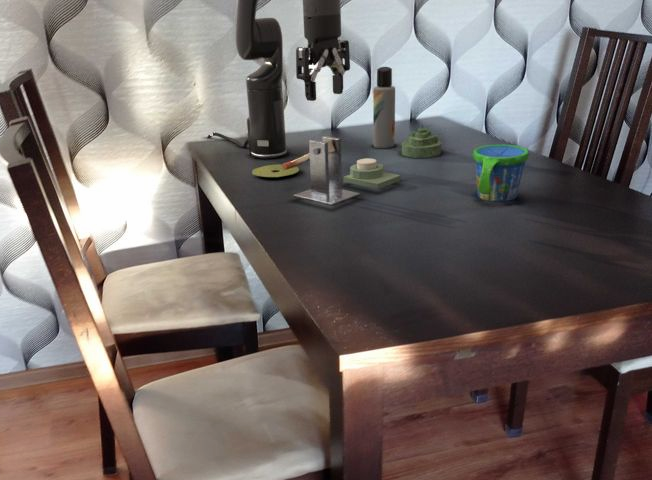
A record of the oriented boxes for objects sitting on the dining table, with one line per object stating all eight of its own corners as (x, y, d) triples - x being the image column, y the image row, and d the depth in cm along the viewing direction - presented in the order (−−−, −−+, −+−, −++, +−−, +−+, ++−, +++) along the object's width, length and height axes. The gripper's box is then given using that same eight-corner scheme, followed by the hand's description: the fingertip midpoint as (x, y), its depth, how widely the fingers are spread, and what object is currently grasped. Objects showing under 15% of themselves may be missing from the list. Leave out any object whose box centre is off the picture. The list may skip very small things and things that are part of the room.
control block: (343, 186, 159) (342, 168, 157) (365, 178, 164) (365, 160, 162) (378, 193, 152) (378, 175, 150) (400, 184, 157) (400, 167, 155)
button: (352, 169, 157) (352, 161, 156) (365, 165, 160) (365, 157, 159) (368, 172, 154) (368, 164, 154) (380, 167, 157) (380, 160, 156)
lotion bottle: (394, 143, 192) (395, 65, 182) (394, 148, 187) (395, 68, 177) (373, 143, 193) (373, 66, 183) (373, 148, 188) (373, 69, 178)
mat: (244, 177, 169) (243, 169, 168) (285, 169, 174) (284, 161, 173) (265, 187, 161) (265, 179, 160) (308, 178, 165) (307, 170, 164)
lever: (284, 173, 152) (280, 162, 152) (300, 167, 155) (296, 157, 155) (323, 154, 142) (319, 143, 142) (339, 149, 145) (335, 138, 145)
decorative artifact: (426, 146, 187) (394, 152, 184) (427, 119, 184) (394, 124, 180) (448, 154, 179) (415, 160, 175) (450, 125, 175) (416, 131, 172)
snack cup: (502, 215, 136) (507, 162, 131) (454, 206, 142) (457, 155, 137) (537, 194, 146) (543, 145, 141) (490, 187, 152) (494, 139, 147)
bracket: (294, 201, 151) (290, 140, 144) (322, 191, 156) (320, 132, 150) (332, 210, 144) (330, 147, 138) (360, 199, 149) (359, 138, 143)
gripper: (330, 9, 147) (333, 90, 155) (283, 15, 138) (288, 101, 146) (358, 9, 142) (359, 93, 150) (312, 15, 133) (315, 104, 141)
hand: (324, 97), depth 148 cm, fingers open, 8 cm apart
